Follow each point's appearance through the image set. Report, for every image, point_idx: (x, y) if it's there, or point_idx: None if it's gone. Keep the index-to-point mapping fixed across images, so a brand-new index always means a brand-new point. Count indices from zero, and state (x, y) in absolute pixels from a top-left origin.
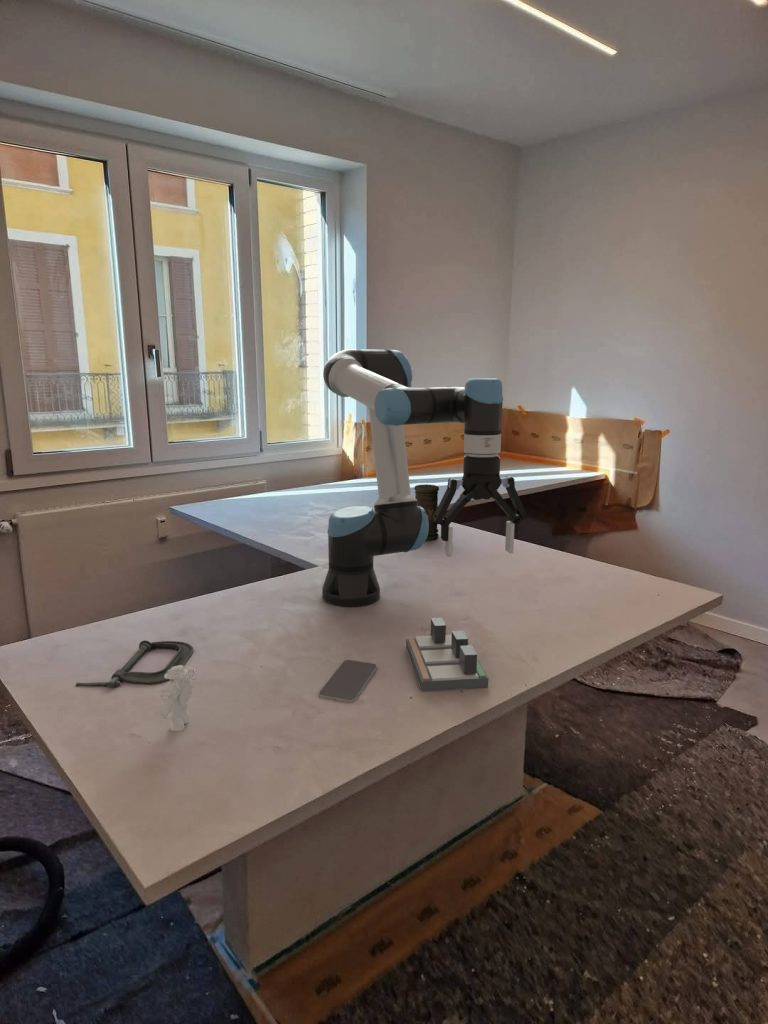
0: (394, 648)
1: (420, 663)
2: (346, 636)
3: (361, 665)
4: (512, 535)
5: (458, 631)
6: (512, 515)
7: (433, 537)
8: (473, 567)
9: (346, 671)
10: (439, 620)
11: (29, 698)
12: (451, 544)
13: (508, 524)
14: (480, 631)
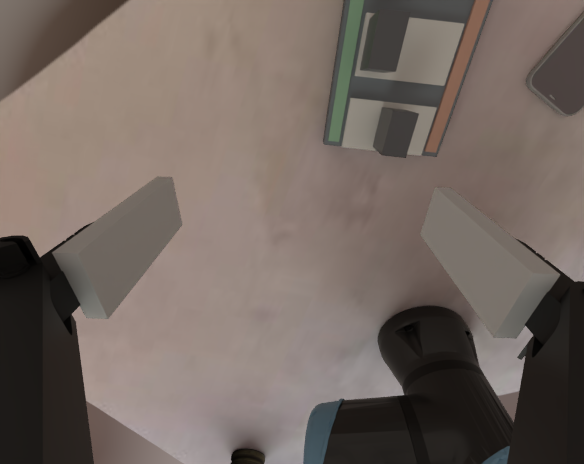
0: (450, 153)
1: (475, 22)
2: (503, 215)
3: (559, 84)
4: (116, 212)
5: (381, 64)
6: (13, 302)
7: (240, 453)
8: (212, 380)
9: None
10: (393, 141)
11: None
12: (468, 212)
13: (104, 281)
14: (274, 186)
